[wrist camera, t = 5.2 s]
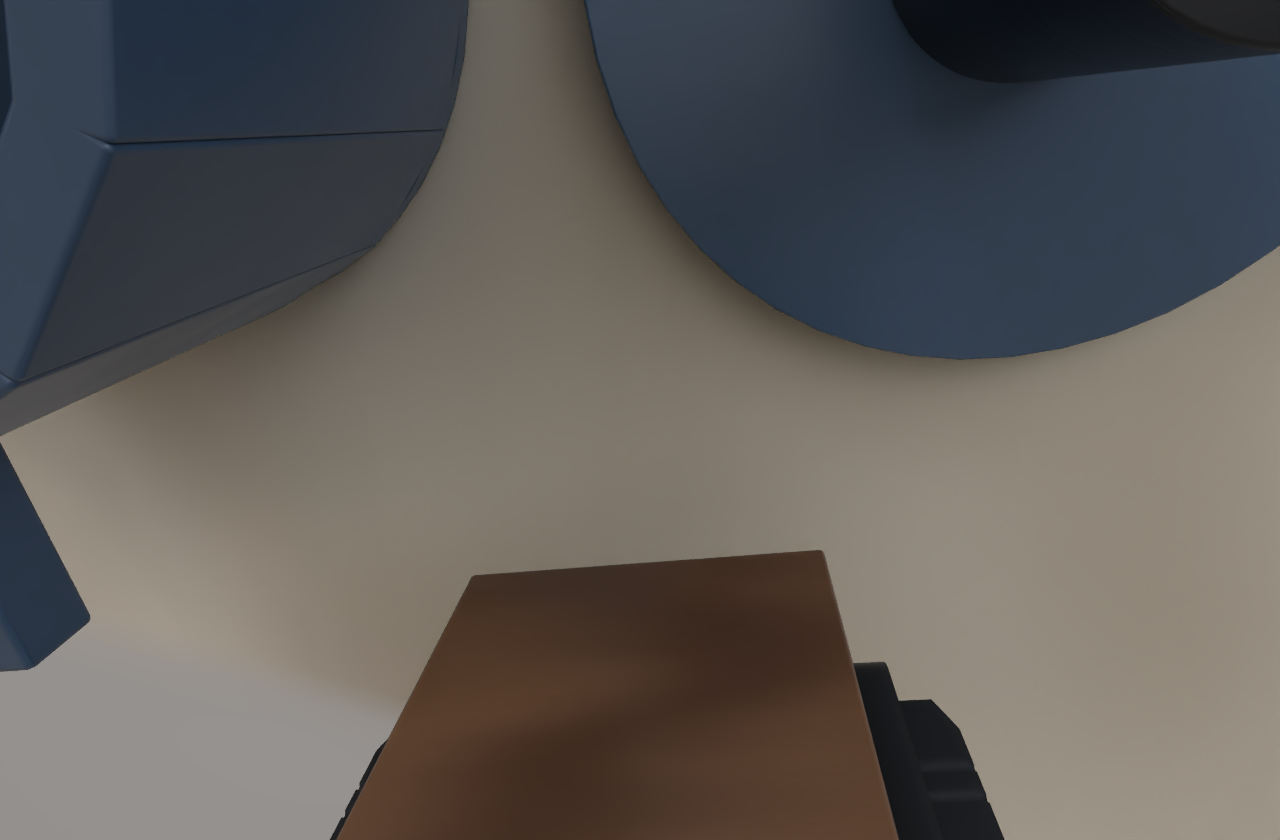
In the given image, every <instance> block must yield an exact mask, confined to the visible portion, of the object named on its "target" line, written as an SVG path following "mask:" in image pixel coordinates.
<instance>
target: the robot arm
mask: <svg viewBox="0 0 1280 840" xmlns="http://www.w3.org/2000/svg"><path fill="white" fill-rule="evenodd" d="M853 666H854V669H855V673H856V677H857V681H858V685H859V689H860V692H861V696H862V700H863V704H864V708H865V711H866V715H867V719H868V723H869V727H870V731H871V734H872V738H873V742H874V746H875V750H876V754H877V757H878V761H879V765H880V769H881V773H882V777H883V780H884V784H885V788H886V792H887V796H888V800H889V803H890V807H891V811H892V815H893V819H894V823H895V826H896V830H897V834H898V838H899V840H1004V837H1003V835H1002V832H1001V830H1000V827H999V825H998V823H997V820H996V818H995V815H994V813H993V810H992V808H991V805H990V803H989V802H987V798H986V793H985V791H984V788H983V786H982V783H981V781H980V778H979V776H978V773H977V772H975V769H974V764H973V761H972V759H971V756H970V754H969V751H968V749H967V746H966V744H965V741H964V739H963V736H962V734H961V732H960V729H959V728H958V727H957V726H956V725H955V724H954V723H953V722H952V721H951V720H950V719H949V717H948V716H947V715H946V714H945V713H944V712H943V711H942V710H941V709H940V708H939V707H938V706H937V705H936V704H935V703H934V702H933V701H932V700H931V699H930V700H907V701H898V698H897V694H896V691H895V688H894V685H893V682H892V679H891V676H890V673H889V670H888V667H887V665H886V663H885V662H870V663H853ZM387 740H388V739H387ZM387 740H386V741H385V742H384V743H383V744H382V745H381V746H380V748H379V749H378V750H377V751H376V753H375V754H374V756H373V758H372V760H371V762H370V764H369V766H368V768H367V770H366V772H365V774H364V775H363V777H362V780H361V781H360V788H359V790H356V791H355V793H354V795H353V797H352V798H351V800H350V802H349V804H348V806H347V808H346V810H345V817H344V818H341V820H340V821H339V823H338V825H337V827H336V829H335V831H334V833H333V835H332V837H331V839H330V840H336V839H337V837H338V835H339V833H340V831H341V829H342V827H343V826H344V824H345V822H346V820H347V818H348V816H349V814H350V812H351V810H352V808H353V806H354V804H355V802H356V800H357V798H358V796H359V794H360V793H361V791H362V789H363V787H364V785H365V783H366V781H367V779H368V777H369V775H370V773H371V771H372V769H373V767H374V765H375V763H376V761H377V760H378V758H379V756H380V754H381V752H382V750H383V748H384V746H385V744H386V742H387Z"/></svg>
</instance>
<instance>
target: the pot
mask: <svg viewBox="0 0 1280 840" xmlns="http://www.w3.org/2000/svg"><path fill="white" fill-rule="evenodd" d="M467 15H468V0H0V436H1V435H3V434H6V433H8V432H10V431H12V430H14V429H17V428H19V427H21V426H23V425H25V424H28V423H30V422H32V421H34V420H36V419H39V418H41V417H43V416H45V415H47V414H50V413H52V412H54V411H56V410H58V409H61V408H63V407H65V406H67V405H69V404H72V403H74V402H76V401H78V400H80V399H83V398H85V397H87V396H89V395H91V394H93V393H96V392H98V391H100V390H102V389H104V388H107V387H109V386H111V385H113V384H115V383H118V382H120V381H122V380H124V379H126V378H129V377H131V376H133V375H135V374H137V373H140V372H142V371H144V370H146V369H148V368H151V367H153V366H155V365H157V364H159V363H162V362H164V361H166V360H168V359H170V358H172V357H175V356H177V355H179V354H181V353H183V352H186V351H188V350H190V349H192V348H194V347H197V346H199V345H201V344H203V343H205V342H208V341H210V340H212V339H214V338H216V337H219V336H221V335H223V334H225V333H227V332H230V331H232V330H234V329H236V328H238V327H241V326H243V325H245V324H247V323H249V322H251V321H254V320H256V319H258V318H260V317H262V316H265V315H267V314H269V313H271V312H273V311H276V310H278V309H280V308H282V307H284V306H286V305H287V304H289V303H290V302H292V301H293V300H295V299H296V298H298V297H299V296H301V295H303V294H304V293H306V292H307V291H309V290H310V289H312V288H313V287H315V286H316V285H318V284H320V283H322V282H324V281H325V280H327V279H329V278H331V277H333V276H334V275H336V274H338V273H340V272H341V271H343V270H344V269H345V268H346V267H348V266H349V265H350V264H352V263H353V262H354V261H355V260H357V259H358V258H359V257H361V256H362V255H363V254H364V253H366V252H367V251H369V250H370V249H372V248H374V247H375V246H376V244H377V243H378V242H379V241H380V240H381V239H382V237H383V235H384V234H385V233H386V232H387V231H388V230H389V229H390V227H391V226H392V225H393V224H394V223H395V222H396V221H397V220H398V218H399V217H400V216H401V214H402V213H403V211H404V210H405V208H406V207H407V205H408V204H409V203H410V201H411V200H412V198H413V197H414V195H415V194H416V192H417V191H418V190H419V188H420V186H421V184H422V182H423V180H424V178H425V176H426V174H427V172H428V170H429V168H430V166H431V164H432V162H433V160H434V158H435V156H436V154H437V152H438V150H439V148H440V145H441V143H442V140H443V137H444V134H445V131H446V128H447V125H448V122H449V119H450V116H451V113H452V110H453V107H454V104H455V99H456V94H457V89H458V84H459V79H460V75H461V70H462V65H463V60H464V52H465V40H466V27H467ZM89 621H90V614H89V612H88V610H87V608H86V606H85V605H84V603H83V601H82V599H81V597H80V595H79V593H78V591H77V589H76V587H75V585H74V583H73V581H72V580H71V578H70V576H69V574H68V572H67V570H66V568H65V566H64V564H63V562H62V560H61V558H60V556H59V555H58V553H57V551H56V549H55V547H54V545H53V543H52V541H51V539H50V537H49V535H48V533H47V531H46V530H45V528H44V526H43V524H42V522H41V520H40V518H39V516H38V514H37V512H36V510H35V508H34V506H33V505H32V503H31V501H30V499H29V497H28V495H27V493H26V491H25V489H24V487H23V485H22V483H21V481H20V480H19V478H18V476H17V474H16V472H15V470H14V468H13V466H12V464H11V462H10V460H9V458H8V456H7V455H6V453H5V451H4V449H3V447H2V445H1V443H0V672H1V671H17V670H28V669H31V668H33V667H35V666H36V665H38V664H39V663H40V662H41V661H42V660H44V659H45V658H46V657H47V656H48V655H50V654H51V653H52V652H53V651H55V650H56V649H57V648H58V647H59V646H61V645H62V644H63V643H64V642H65V641H67V640H68V639H69V638H70V637H71V636H73V635H74V634H75V633H76V632H77V631H79V630H80V629H81V628H82V627H84V626H85V625H86V624H87V623H88V622H89Z"/></svg>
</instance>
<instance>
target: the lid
mask: <svg viewBox="0 0 1280 840" xmlns="http://www.w3.org/2000/svg"><path fill="white" fill-rule="evenodd" d="M584 5H585V9H586V14H587V19H588V24H589V29H590V33H591V38H592V43H593V48H594V53H595V58H596V61H597V64H598V67H599V70H600V73H601V76H602V79H603V82H604V85H605V88H606V91H607V94H608V97H609V100H610V103H611V106H612V109H613V112H614V115H615V117H616V120H617V122H618V124H619V126H620V128H621V130H622V132H623V134H624V136H625V138H626V141H627V143H628V145H629V147H630V149H631V151H632V153H633V155H634V157H635V159H636V162H637V164H638V166H639V167H640V169H641V170H642V172H643V174H644V175H645V177H646V178H647V180H648V181H649V183H650V184H651V186H652V188H653V189H654V191H655V192H656V194H657V195H658V197H659V198H660V200H661V202H662V203H663V205H664V206H665V208H666V209H667V211H668V212H669V213H670V214H671V216H672V217H673V218H674V219H675V220H676V221H677V223H678V224H679V225H680V226H681V227H682V229H683V230H684V231H685V232H686V233H687V234H688V236H689V237H690V238H691V239H692V240H693V242H694V243H695V244H696V245H697V246H698V247H699V249H700V250H701V251H703V252H704V253H705V254H706V255H707V256H708V257H709V258H710V259H711V260H712V261H714V262H715V263H716V264H717V265H718V266H719V267H720V268H721V269H722V270H723V271H725V272H726V273H727V274H728V275H729V276H730V277H731V278H732V279H733V280H735V281H736V282H737V283H738V284H740V285H741V286H743V287H744V288H746V289H747V290H749V291H750V292H751V293H753V294H754V295H756V296H757V297H759V298H760V299H762V300H763V301H765V302H766V303H768V304H769V305H770V306H772V307H773V308H775V309H776V310H778V311H780V312H782V313H784V314H786V315H788V316H790V317H792V318H794V319H796V320H798V321H800V322H802V323H804V324H806V325H808V326H810V327H812V328H814V329H816V330H818V331H821V332H824V333H827V334H829V335H832V336H835V337H838V338H841V339H844V340H847V341H850V342H853V343H856V344H859V345H861V346H865V347H870V348H875V349H880V350H884V351H889V352H894V353H899V354H904V355H909V356H919V357H933V358H946V359H981V358H1002V357H1014V356H1020V355H1026V354H1032V353H1038V352H1044V351H1050V350H1056V349H1062V348H1066V347H1069V346H1073V345H1076V344H1080V343H1084V342H1087V341H1091V340H1094V339H1098V338H1101V337H1105V336H1108V335H1112V334H1115V333H1118V332H1120V331H1123V330H1125V329H1128V328H1130V327H1133V326H1135V325H1138V324H1140V323H1143V322H1145V321H1148V320H1150V319H1153V318H1155V317H1158V316H1160V315H1163V314H1165V313H1168V312H1170V311H1172V310H1174V309H1175V308H1177V307H1179V306H1181V305H1183V304H1185V303H1187V302H1189V301H1191V300H1193V299H1195V298H1196V297H1198V296H1200V295H1202V294H1204V293H1206V292H1208V291H1210V290H1212V289H1214V288H1215V287H1217V286H1219V285H1221V284H1223V283H1224V282H1226V281H1227V280H1229V279H1230V278H1232V277H1233V276H1235V275H1236V274H1238V273H1239V272H1241V271H1242V270H1244V269H1246V268H1247V267H1249V266H1250V265H1252V264H1253V263H1255V262H1256V261H1258V260H1259V259H1261V258H1262V257H1264V256H1265V255H1267V254H1268V253H1270V252H1271V251H1273V250H1274V249H1276V248H1277V247H1278V246H1279V245H1280V0H584Z"/></svg>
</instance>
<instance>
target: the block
mask: <svg viewBox="0 0 1280 840" xmlns="http://www.w3.org/2000/svg"><path fill="white" fill-rule="evenodd" d="M336 840H899V838H898V834H897V830H896V826H895V823H894V819H893V815H892V811H891V807H890V803H889V800H888V796H887V792H886V788H885V784H884V780H883V777H882V773H881V769H880V765H879V761H878V757H877V754H876V750H875V746H874V742H873V738H872V734H871V731H870V727H869V723H868V719H867V715H866V711H865V708H864V704H863V700H862V696H861V692H860V689H859V685H858V681H857V677H856V673H855V669H854V666H853V662H852V658H851V654H850V650H849V646H848V643H847V639H846V635H845V631H844V627H843V623H842V620H841V616H840V612H839V608H838V604H837V600H836V597H835V593H834V589H833V585H832V581H831V577H830V574H829V570H828V566H827V562H826V558H825V554H824V553H823V551H821V550H812V551H799V552H785V553H772V554H758V555H744V556H731V557H717V558H703V559H690V560H676V561H663V562H649V563H635V564H622V565H608V566H594V567H581V568H567V569H553V570H540V571H526V572H513V573H499V574H485V575H474V576H472V577H471V579H470V581H469V583H468V585H467V587H466V589H465V591H464V593H463V594H462V596H461V598H460V600H459V602H458V604H457V606H456V608H455V610H454V612H453V614H452V616H451V618H450V620H449V622H448V624H447V626H446V627H445V629H444V631H443V633H442V635H441V637H440V639H439V641H438V643H437V645H436V647H435V649H434V651H433V653H432V655H431V657H430V659H429V660H428V662H427V664H426V666H425V668H424V670H423V672H422V674H421V676H420V678H419V680H418V682H417V684H416V686H415V688H414V690H413V692H412V694H411V695H410V697H409V699H408V701H407V703H406V705H405V707H404V709H403V711H402V713H401V715H400V717H399V719H398V721H397V723H396V725H395V727H394V728H393V730H392V732H391V734H390V736H389V738H388V740H387V742H386V744H385V746H384V748H383V750H382V752H381V754H380V756H379V758H378V760H377V761H376V763H375V765H374V767H373V769H372V771H371V773H370V775H369V777H368V779H367V781H366V783H365V785H364V787H363V789H362V791H361V793H360V794H359V796H358V798H357V800H356V802H355V804H354V806H353V808H352V810H351V812H350V814H349V816H348V818H347V820H346V822H345V824H344V826H343V827H342V829H341V831H340V833H339V835H338V837H337V839H336Z"/></svg>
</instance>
